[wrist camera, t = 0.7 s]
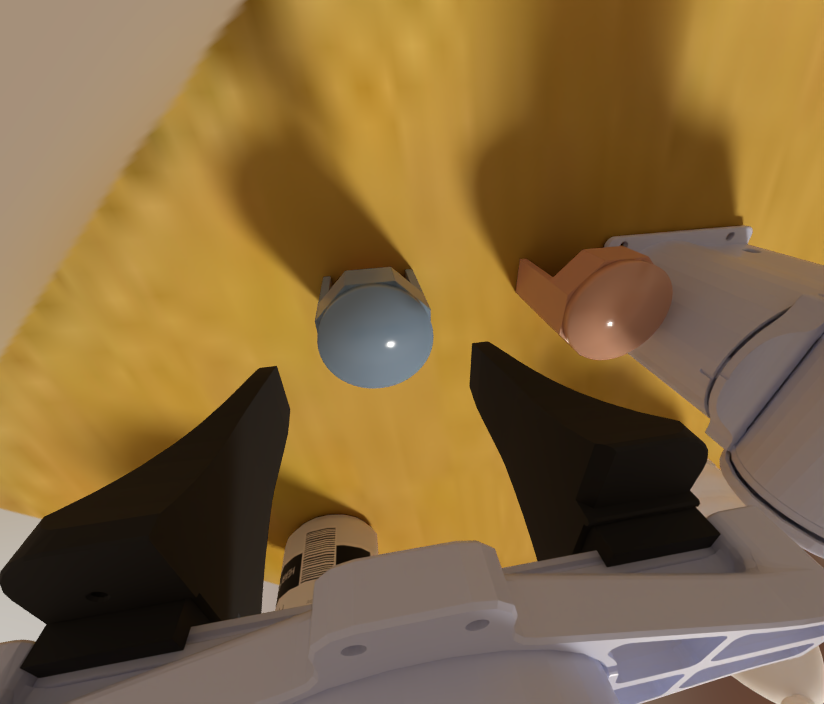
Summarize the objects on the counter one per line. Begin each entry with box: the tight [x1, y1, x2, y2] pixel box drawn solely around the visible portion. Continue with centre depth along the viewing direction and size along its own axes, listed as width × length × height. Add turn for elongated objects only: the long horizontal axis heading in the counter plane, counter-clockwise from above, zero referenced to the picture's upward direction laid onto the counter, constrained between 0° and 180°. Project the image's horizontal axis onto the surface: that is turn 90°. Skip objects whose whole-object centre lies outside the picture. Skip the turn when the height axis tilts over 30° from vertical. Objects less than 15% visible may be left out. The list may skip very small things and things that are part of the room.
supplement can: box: [275, 514, 378, 611], centre depth 26 cm, size 8×8×15 cm
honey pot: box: [690, 458, 824, 704], centre depth 27 cm, size 13×13×18 cm
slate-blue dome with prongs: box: [315, 267, 433, 388], centre depth 18 cm, size 5×5×6 cm
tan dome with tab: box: [516, 246, 673, 360], centre depth 19 cm, size 5×5×6 cm
